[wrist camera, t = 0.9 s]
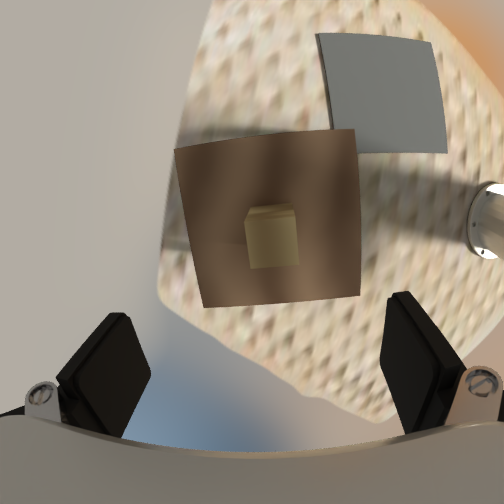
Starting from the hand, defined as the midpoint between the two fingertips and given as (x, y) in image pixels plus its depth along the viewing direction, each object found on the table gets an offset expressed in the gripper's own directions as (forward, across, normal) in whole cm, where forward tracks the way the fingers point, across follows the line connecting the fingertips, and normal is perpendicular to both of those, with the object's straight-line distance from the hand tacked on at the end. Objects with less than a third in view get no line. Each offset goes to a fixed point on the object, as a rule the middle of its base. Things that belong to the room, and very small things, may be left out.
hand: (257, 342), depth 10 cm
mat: (+30, -18, -13) cm, 37 cm away
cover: (+30, 0, 0) cm, 30 cm away
